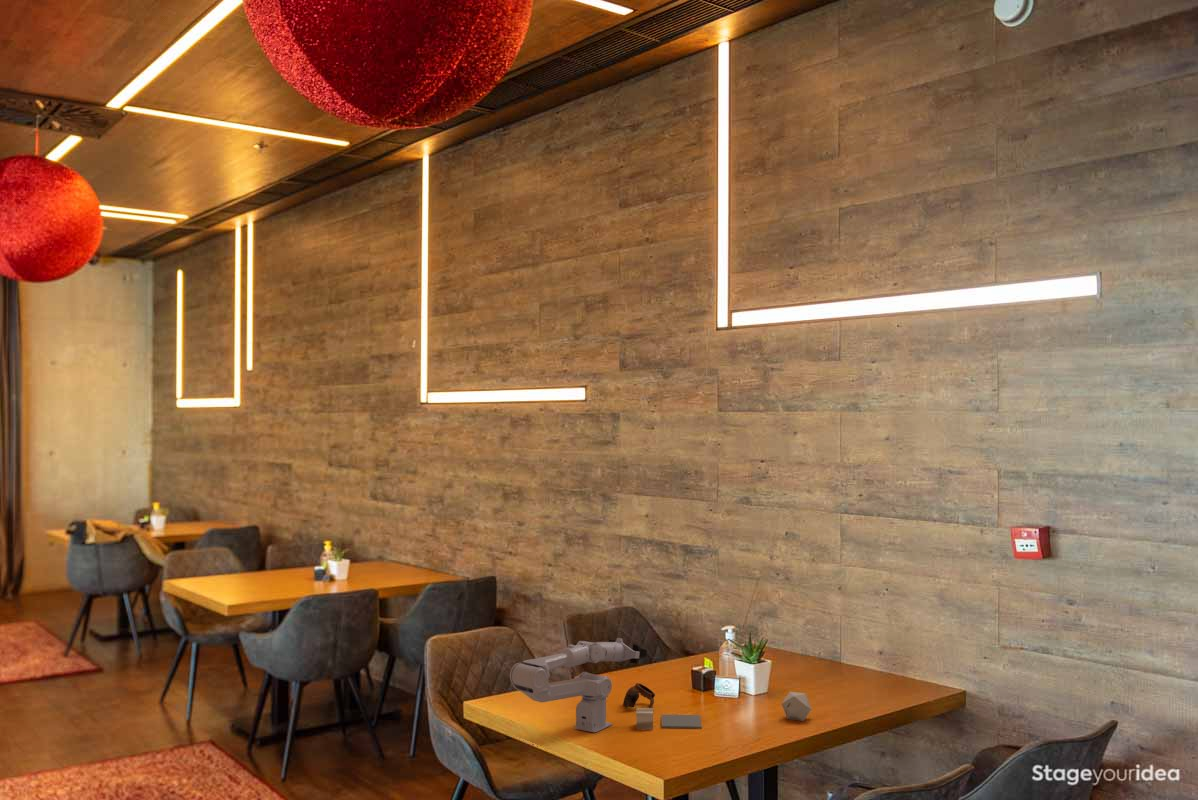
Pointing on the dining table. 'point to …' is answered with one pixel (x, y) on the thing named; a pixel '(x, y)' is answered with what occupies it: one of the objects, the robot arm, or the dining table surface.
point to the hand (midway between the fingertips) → (636, 651)
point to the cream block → (644, 719)
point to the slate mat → (681, 721)
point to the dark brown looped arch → (634, 692)
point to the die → (796, 706)
